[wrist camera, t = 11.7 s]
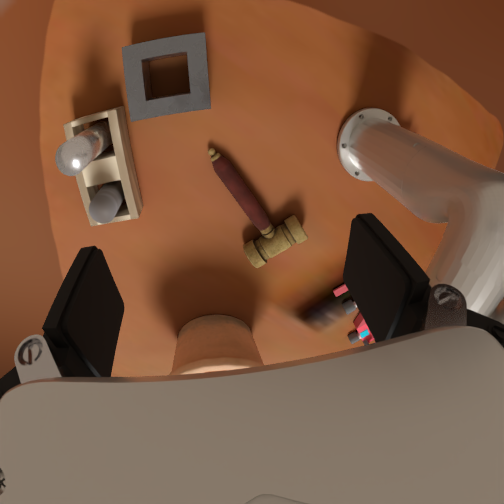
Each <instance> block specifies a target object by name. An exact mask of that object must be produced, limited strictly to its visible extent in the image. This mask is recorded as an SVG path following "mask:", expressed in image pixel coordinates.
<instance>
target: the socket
mask: <svg viewBox="0 0 504 504" xmlns="http://www.w3.org/2000/svg"><path fill="white" fill-rule="evenodd" d="M122 55H123V65H124V74H125V83H126V91H127V98H128V106H129V112H130V119H131V122H133V121H137V120H142V119H147V118H152V117H158V116H163V115H169V114H175V113H182V112H189V111H196V110H204V109H211V104H210V92H209V80H208V67H207V54H206V39H205V32H204V33H195V34H187V35H180V36H174V37H168V38H162V39H157V40H152V41H147V42H142V43H138V44H134V45H129V46H125V47H122ZM181 55H187V59H188V71H189V82H190V92H184V93H178V94H172V95H166V96H160V97H155V98H153V96H152V88H151V79H150V69H149V61H152V60H157V59H163V58H168V57H175V56H181Z"/></svg>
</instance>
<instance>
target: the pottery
mask: <svg viewBox="0 0 504 504" xmlns="http://www.w3.org/2000/svg"><path fill="white" fill-rule="evenodd" d="M257 366H264V364H263V361H262V359H261V356H260V354H259V351H258V349H257V346H256V344H255V341H254V339H253V336H252V334H251V331H250V328H249V327H248V326H247V325H246V324H245V323H244V322H243V321H242V320H239V319H237V318H235V317H232V316H226V315H219V314H216V315H206V316H202V317H199V318H196V319H193V320H191V321H190V322H188V323H187V324H186V325H184V326H183V327H182V329H181V331H180V332H179V334H178V340H177V346H176V351H175V356H174V362H173V367H172V372H171V373H170V374H169V375H182V374H195V373H206V372H217V371H226V370H234V369H242V368H250V367H257Z"/></svg>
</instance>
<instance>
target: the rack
mask: <svg viewBox="0 0 504 504" xmlns="http://www.w3.org/2000/svg"><path fill="white" fill-rule="evenodd" d="M106 117H108V120H109V126H110V131H111V137H112V142H113V147H114V150H113V151H108V152H104V153H101V154H99V155H98V156H97V157H96V158H95V159H94V160H93V161H92V162H91V163H90V164H89V165H88V166H87V167H85V168H84V169H83V170H82V171H81V172H80V173H79V174H77V175H75V176H76V180H77V183H78V187H79V190H80V193H81V197H82V200H83V203H84V206H85V210H86V213H87V216H88V219H89V222H90V225H91V226H95V225H101V224H106V223H112V222H118V221H124V220H130V219H136V218H139V216H140V213H141V211H142V208H143V202H142V198H141V194H140V189H139V185H138V180H137V175H136V171H135V166H134V161H133V156H132V151H131V145H130V140H129V134H128V129H127V123H126V116H125V110H124V106H121V107H117V108H113V109H109V110H105V111H101V112H98V113H94V114H91V115H87V116H84V117H81V118H78V119H75V120H72V121H70V122H68V123H66V124H64V130H65V135H66V139H67V141H68V140H69V139H71V138H73V137H74V136H76V135H77V134H79V133H81V132H83V131H84V126H83V124H85V123H88V122H91V121H95V120H99V119H102V118H106ZM103 183H104V185H103V186H102V187H101V189H100V190H98V186H97V185H98V184H103ZM124 198H125V199H126V203H127V204H125V205H121V203H122V202H123V200H124Z"/></svg>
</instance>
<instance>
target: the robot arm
mask: <svg viewBox="0 0 504 504" xmlns="http://www.w3.org/2000/svg"><path fill="white" fill-rule="evenodd" d="M359 115H360V117H359ZM342 144H343V145H342ZM337 151H338V156H339V160H340V162H341V164H342V166H343V167H344V168H345V170H346V171H347V172H348V173H349V174H351V175H352V176H353V177H355V178H357V179H359V180H363V181H375V182H376V183H377V184H379V185H380V186H381V187H382V188H383V189H385V190H386V191H387V192H388V193H390V194H391V195H392V196H393V197H394V198H396V199H397V200H398V201H399V202H400V203H401V204H403V205H404V206H405V207H406V208H407V209H409V210H410V211H411V212H412V213H413V214H414V215H416V216H417V217H418V218H420V219H422V220H424V221H427V222H431V223H446V222H448V225H447V227H446V230H445V232H444V234H443V238H442V240H441V242H440V245H439V247H438V249H437V251H436V253H435V255H434V257H433V259H432V261H431V263H430V265H429V267H428V269H427V271H426V273H425V272H424V271H423V270H422V269H421V267H420V266H419V265H418V264H417V263H416V261H415V260H414V259H413V258H412V257H411V256H410V254H409V253H408V252H407V251H406V250H405V249H404V247H403V246H402V245H401V244H400V243H399V242H398V241H397V240H396V238H395V237H394V236H393V235H392V234H391V233H390V232H389V231H388V230H387V228H386V227H385V226H384V225H383V224H382V223H381V222H380V221H379V220H378V219H377V218H376V217H375V216H374V215H373V214H372V213H367V214H358V215H357V216H356V218H354V219H353V220H352V223H351V230H350V237H349V243H348V249H347V255H346V261H345V267H344V273H343V279H344V283H345V285H346V287H347V288H348V290H349V292H350V294H351V296H352V298H353V299H354V301H355V303H356V305H357V307H358V309H359V311H360V313H361V315H362V316H363V318H364V320H365V322H366V324H367V326H368V328H369V330H370V332H371V334H372V336H373V338H374V340H375V342H376V343H373V344H369V345H365V346H361V347H357V348H353V349H348V350H344V351H340V352H335V353H330V354H326V355H321V356H316V357H311V358H305V359H300V360H294V361H289V362H283V363H277V364H271V365H264V366H257V367H250V368H242V369H234V370H226V371H217V372H206V373H195V374H182V375H167V376H144V377H111V372H112V366H113V361H114V355H115V350H116V345H117V340H118V336H119V331H120V327H121V322H122V318H123V314H124V302H123V300H122V298H121V295H120V293H119V291H118V289H117V286H116V284H115V282H114V279H113V277H112V275H111V272H110V270H109V267H108V265H107V262H106V260H105V257H104V255H103V252H102V250H101V249H98V248H97V247H96V246H91V247H84V248H81V249H80V251H79V253H78V254H77V256H76V258H75V260H74V262H73V264H72V266H71V267H70V269H69V271H68V273H67V275H66V277H65V279H64V281H63V283H62V285H61V287H60V289H59V291H58V294H57V296H56V298H55V300H54V302H53V304H52V306H51V309H50V311H49V313H48V316H47V318H46V320H45V323H44V325H43V327H42V329H43V330H44V335H43V337H42V336H40V335H32V336H29V337H27V338H26V339H24V340H23V341H22V342H21V343H20V345H19V346H18V347H17V350H16V352H15V357H14V359H15V365H16V366H15V367H14V368H13V369H12V370H11V371H9V372H8V373H7V374H6V375H4V377H2V378H1V379H0V504H504V300H502V299H503V297H504V174H503V173H501V172H499V171H496V170H494V169H491V168H489V167H486V166H483V165H481V164H479V163H477V162H474V161H472V160H470V159H468V158H466V157H464V156H462V155H460V154H458V153H455V152H453V151H451V150H450V149H448V148H446V147H444V146H442V145H440V144H438V143H436V142H434V141H431V140H429V139H427V138H425V137H423V136H421V135H419V134H416V133H414V132H412V131H410V130H407V129H405V128H403V127H401V126H400V125H399V123H398V121H397V120H396V119H395V118H394V116H392V115H391V114H390V113H388V112H386V111H384V110H382V109H378V108H364V109H361V110H359V111H357V112H355V113H354V114H352V115H351V116H350V117H349V118H348V119H347V120H346V121H345V123H344V124H343V126H342V128H341V130H340V133H339V136H338V142H337Z"/></svg>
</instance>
